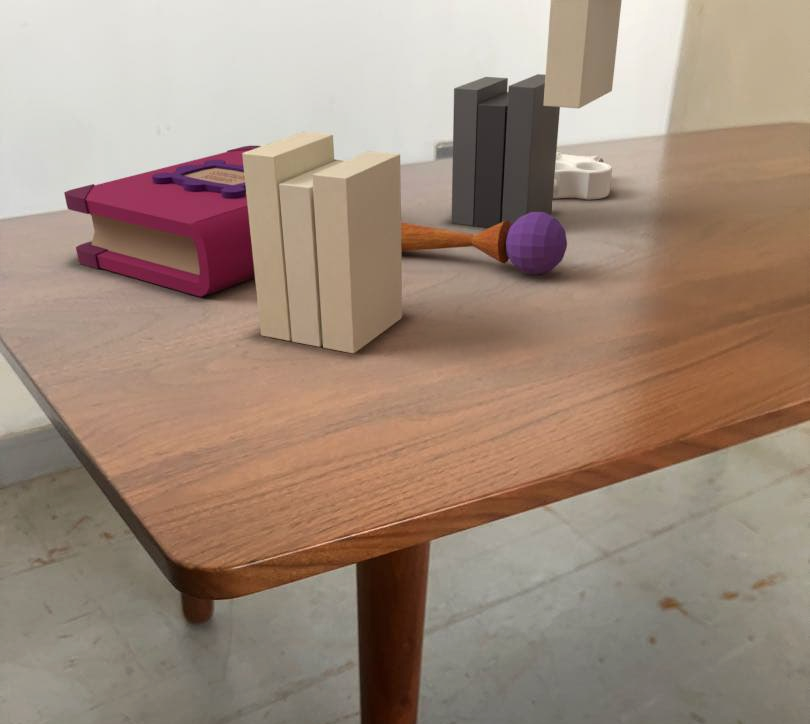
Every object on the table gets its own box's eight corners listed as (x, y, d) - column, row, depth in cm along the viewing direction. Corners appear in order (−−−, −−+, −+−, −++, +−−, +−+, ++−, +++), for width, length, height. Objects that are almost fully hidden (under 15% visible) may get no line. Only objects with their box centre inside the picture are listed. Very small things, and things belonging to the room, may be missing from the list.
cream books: (402, 317, 83) (400, 140, 75) (353, 353, 76) (345, 164, 68) (314, 302, 87) (302, 131, 78) (260, 335, 80) (241, 152, 71)
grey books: (551, 212, 111) (562, 75, 103) (525, 232, 105) (535, 87, 96) (480, 204, 115) (485, 70, 106) (451, 222, 108) (453, 82, 99)
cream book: (612, 91, 79) (633, -109, 71) (579, 108, 72) (599, -110, 64) (578, 89, 80) (595, -109, 72) (543, 106, 73) (557, -109, 65)
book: (389, 231, 105) (388, 161, 101) (211, 301, 87) (200, 220, 83) (256, 203, 116) (250, 139, 111) (72, 261, 97) (56, 186, 93)
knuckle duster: (625, 180, 124) (596, 207, 113) (499, 168, 130) (461, 192, 119) (628, 153, 122) (599, 178, 111) (500, 143, 128) (461, 165, 117)
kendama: (398, 205, 100) (576, 211, 91) (398, 262, 102) (572, 273, 94) (372, 208, 95) (557, 214, 86) (372, 267, 97) (553, 279, 89)
